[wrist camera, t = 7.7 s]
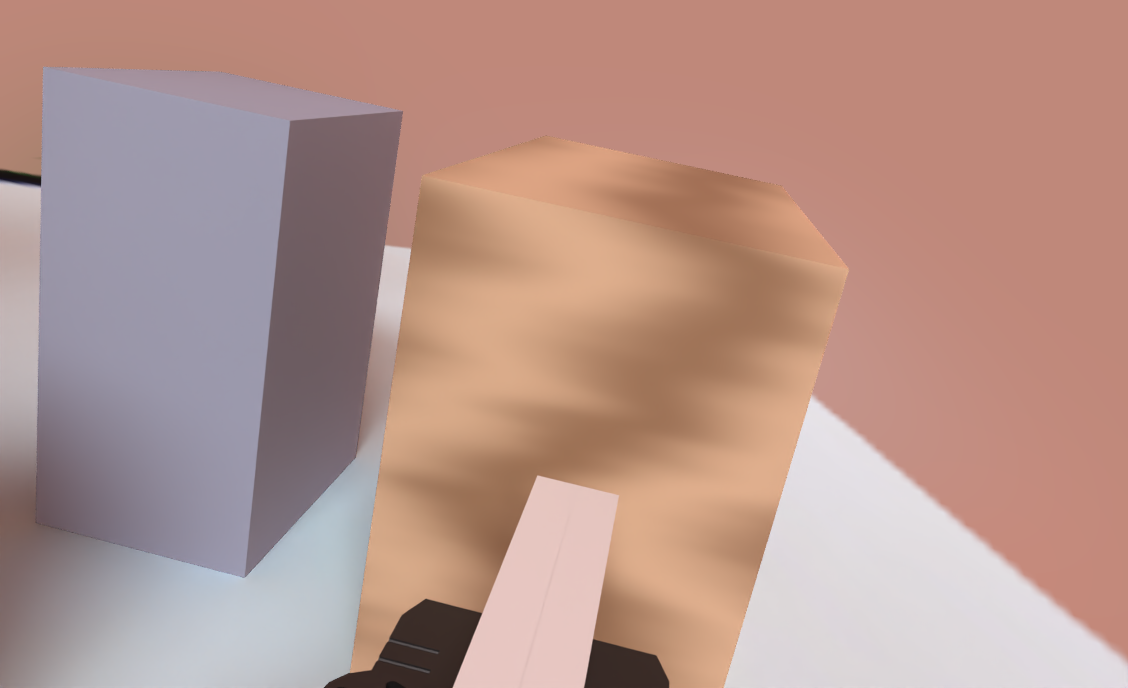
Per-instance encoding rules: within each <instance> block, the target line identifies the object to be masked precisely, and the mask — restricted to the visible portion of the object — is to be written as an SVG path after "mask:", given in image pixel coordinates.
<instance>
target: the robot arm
mask: <svg viewBox="0 0 1128 688" xmlns="http://www.w3.org/2000/svg"><path fill="white" fill-rule="evenodd" d="M618 498H619V495H616V494H612V493H608V492H603V491H599V490H595V489H591V488H587V487H583V486H579V485H575V484H571V483H566V482H562V481H558V480H554V479H550V478H546V477H542V476H538V475H537V478H536V480H535V483H534V485H533V488H532V490H531V493H530V495H529V498H528V500H527V503H526V505H525V508H524V510H523V513H522V515H521V518H520V520H519V523H518V525H517V528H516V530H515V533H514V535H513V538H512V540H511V543H510V545H509V548H508V550H507V553H506V555H505V558H504V560H503V563H502V565H501V568H500V570H499V573H498V576H497V578H496V581H495V583H494V586H493V588H492V591H491V593H490V596H489V598H488V601H487V603H486V606H485V608H484V611H483V613H480V612H476V611H472V610H468V609H464V608H460V607H456V606H453V605H449V604H445V603H441V602H437V601H433V600H429V599H425V600H423V601H422V602H420V603H419V604H417V605H416V606H414V607H413V608H411V609H410V610H408V611H407V612H405V613H404V614H402V615H401V617H400V619H399V621H398V623H397V624H396V626H395V628H394V630H393V632H392V634H391V635H390V637H389V641H388V642H387V643H386V644H385V646H384V648H383V650H382V652H381V654H380V655H379V659H378V661H376V663H375V664H374V666H373V668H372V670H368V671H361V672H354V673H348V674H346V675H344V676H342V677H339V678H337V679H335V680H333V681H331V682H329V683H328V684H327V685H326V686H325V687H324V688H669V680H668V678H667V676H666V673H665V671H664V669H663V667H662V665H661V663H660V661H659V659H658V657H657V655H653V654H649V653H645V652H641V651H638V650H634V649H630V648H626V647H622V646H618V645H614V644H610V643H606V642H602V641H599V640H595V639H593V635H594V630H595V624H596V619H597V613H598V608H599V602H600V597H601V591H602V586H603V580H604V575H605V569H606V564H607V558H608V553H609V547H610V542H611V536H612V531H613V525H614V520H615V514H616V509H617V503H618Z"/></svg>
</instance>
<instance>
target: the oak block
mask: <svg viewBox="0 0 1128 688" xmlns="http://www.w3.org/2000/svg"><path fill="white" fill-rule="evenodd" d="M848 271H849V268H848V267H847V266H846V265H845V263H844V262H843V261H842V260H841V259H840V257H839V256H838V255H837V254H836V253H835V251H834V250H833V249H832V247H831V246H830V245H829V244H828V243H827V241H826V240H825V239H824V238H823V236H822V235H821V234H820V233H819V231H818V230H817V229H816V228H815V227H814V225H813V224H812V223H811V221H810V220H809V219H808V218H807V217H806V215H805V214H804V213H803V212H802V211H801V209H800V208H799V207H798V206H797V204H796V203H795V202H794V200H793V199H792V198H791V197H790V196H789V194H788V193H787V192H786V191H785V189H784V188H783V187H782V186H780V185H775V184H771V183H766V182H761V181H757V180H752V179H747V178H743V177H738V176H733V175H729V174H724V173H719V172H714V171H710V170H705V169H700V168H695V167H691V166H686V165H681V164H677V163H672V162H667V161H663V160H658V159H653V158H648V157H644V156H639V155H634V154H630V153H625V152H620V151H616V150H611V149H607V148H602V147H596V146H592V145H588V144H583V143H578V142H573V141H569V140H564V139H560V138H555V137H550V136H543V137H540V138H537V139H534V140H531V141H528V142H525V143H521V144H518V145H515V146H512V147H509V148H506V149H503V150H500V151H497V152H493V153H490V154H488V155H484V156H481V157H478V158H475V159H472V160H469V161H465V162H462V163H460V164H456V165H453V166H450V167H447V168H444V169H440V170H437V171H434V172H431V173H428V174H425V175H422V180H421V187H420V194H419V201H418V207H417V215H416V221H415V228H414V235H413V242H412V249H411V256H410V263H409V269H408V276H407V283H406V290H405V297H404V304H403V311H402V318H401V325H400V331H399V338H398V345H397V352H396V359H395V366H394V373H393V380H392V387H391V394H390V400H389V407H388V414H387V421H386V428H385V435H384V442H383V449H382V456H381V462H380V469H379V476H378V483H377V490H376V497H375V504H374V511H373V518H372V524H371V531H370V538H369V545H368V552H367V559H366V566H365V573H364V580H363V587H362V593H361V600H360V607H359V614H358V621H357V628H356V635H355V642H354V649H353V655H352V662H351V669H350V673H354V672H361V671H368V670H372V668H373V666H374V664H375V663H376V661H378V659H379V655H380V654H381V652H382V650H383V648H384V646H385V644H386V643H387V642H388V641H389V637H390V635H391V634H392V632H393V630H394V628H395V626H396V624H397V623H398V621H399V619H400V617H401V615H402V614H404V613H405V612H407V611H408V610H410V609H411V608H413V607H414V606H416V605H417V604H419V603H420V602H422V601H423V600H425V599H429V600H433V601H437V602H441V603H445V604H449V605H453V606H456V607H460V608H464V609H468V610H472V611H476V612H480V613H483V611H484V608H485V606H486V603H487V601H488V598H489V596H490V593H491V591H492V588H493V586H494V583H495V581H496V578H497V576H498V573H499V570H500V568H501V565H502V563H503V560H504V558H505V555H506V553H507V550H508V548H509V545H510V543H511V540H512V538H513V535H514V533H515V530H516V528H517V525H518V523H519V520H520V518H521V515H522V513H523V510H524V508H525V505H526V503H527V500H528V498H529V495H530V493H531V490H532V488H533V485H534V483H535V480H536V478H537V475H538V476H542V477H546V478H550V479H554V480H558V481H562V482H566V483H571V484H575V485H579V486H583V487H587V488H591V489H595V490H599V491H603V492H608V493H612V494H616V495H619V498H618V503H617V509H616V514H615V520H614V525H613V531H612V536H611V542H610V547H609V553H608V558H607V564H606V569H605V575H604V580H603V586H602V591H601V597H600V602H599V608H598V613H597V619H596V624H595V630H594V635H593V639H595V640H599V641H602V642H606V643H610V644H614V645H618V646H622V647H626V648H630V649H634V650H638V651H641V652H645V653H649V654H653V655H657V657H658V659H659V661H660V663H661V665H662V667H663V669H664V671H665V673H666V676H667V678H668V680H669V688H723V687H724V684H725V681H726V677H727V674H728V671H729V667H730V664H731V661H732V657H733V654H734V651H735V647H736V644H737V641H738V637H739V634H740V631H741V627H742V624H743V621H744V617H745V614H746V611H747V608H748V604H749V601H750V598H751V594H752V591H753V588H754V584H755V581H756V578H757V574H758V571H759V568H760V564H761V561H762V558H763V554H764V551H765V548H766V544H767V541H768V538H769V534H770V531H771V528H772V524H773V521H774V518H775V514H776V511H777V508H778V504H779V501H780V498H781V494H782V491H783V488H784V484H785V481H786V478H787V474H788V471H789V468H790V464H791V461H792V458H793V454H794V451H795V448H796V444H797V441H798V438H799V434H800V431H801V428H802V424H803V421H804V418H805V414H806V411H807V408H808V404H809V401H810V398H811V394H812V391H813V388H814V384H815V381H816V378H817V374H818V371H819V368H820V364H821V361H822V358H823V354H824V351H825V347H826V344H827V341H828V338H829V334H830V331H831V328H832V324H833V321H834V317H835V314H836V311H837V308H838V304H839V301H840V298H841V294H842V291H843V288H844V284H845V281H846V278H847V274H848Z"/></svg>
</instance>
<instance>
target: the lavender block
mask: <svg viewBox="0 0 1128 688" xmlns="http://www.w3.org/2000/svg"><path fill="white" fill-rule="evenodd" d="M402 114H403V111H401V110H396V109H391V108H387V107H382V106H377V105H373V104H368V103H363V102H358V101H354V100H349V99H345V98H340V97H335V96H331V95H326V94H322V93H317V92H312V91H307V90H303V89H298V88H293V87H289V86H284V85H280V84H275V83H270V82H266V81H261V80H256V79H252V78H247V77H242V76H238V75H233V74H229V73H223V72H206V71H205V72H204V71H172V70H170V71H169V70H137V69H136V70H135V69H102V68H67V67H64V68H63V67H43V114H42V116H43V117H42V119H43V120H42V174H41V234H40V295H39V355H38V416H37V476H36V523H38V524H42V525H46V526H50V527H54V528H57V529H61V530H65V531H69V532H72V533H76V534H80V535H84V536H88V537H91V538H95V539H99V540H103V541H107V542H110V543H114V544H118V545H122V546H126V547H129V548H133V549H137V550H141V551H145V552H148V553H152V554H156V555H160V556H164V557H167V558H171V559H175V560H179V561H183V562H186V563H190V564H194V565H198V566H202V567H205V568H209V569H213V570H217V571H221V572H224V573H228V574H232V575H236V576H240V577H243V578H245V577H246V576H247V575H248V574H249V573H250V571H251V570H252V569H253V568H254V567H255V566H256V565H257V564H258V563H259V562H260V561H261V560H262V558H263V557H264V556H265V555H266V554H267V553H268V552H269V551H270V550H271V549H272V548H273V547H274V545H275V544H276V543H277V542H278V541H279V540H280V539H281V538H282V537H283V536H284V535H285V534H286V532H287V531H288V530H289V529H290V528H291V527H292V526H293V525H294V524H295V523H296V522H297V521H298V519H299V518H300V517H301V516H302V515H303V514H304V513H305V512H306V511H307V510H308V509H309V508H310V506H311V505H312V504H313V503H314V502H315V501H316V500H317V499H318V498H319V497H320V496H321V495H322V493H323V492H324V491H325V490H326V489H327V488H328V487H329V486H330V485H331V484H332V483H333V482H334V480H335V479H336V478H337V477H338V476H339V475H340V474H341V473H342V472H343V471H344V470H345V469H346V467H347V466H348V465H349V464H350V463H351V462H352V461H353V460H354V459H355V458H356V451H357V443H358V436H359V429H360V421H361V414H362V407H363V399H364V392H365V385H366V378H367V370H368V363H369V356H370V348H371V341H372V334H373V326H374V319H375V312H376V305H377V297H378V290H379V283H380V275H381V268H382V261H383V253H384V246H385V239H386V231H387V224H388V217H389V209H390V202H391V195H392V187H393V180H394V173H395V165H396V158H397V150H398V144H399V136H400V129H401V122H402Z"/></svg>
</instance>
